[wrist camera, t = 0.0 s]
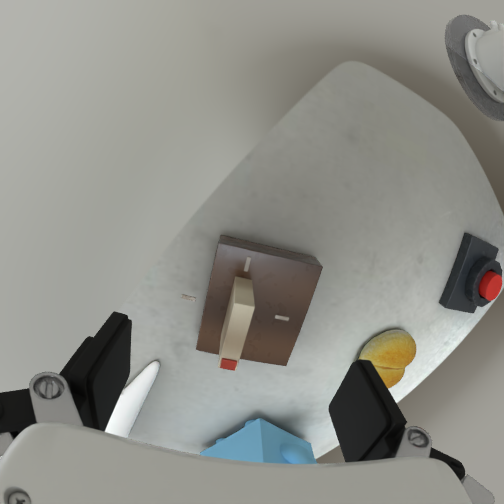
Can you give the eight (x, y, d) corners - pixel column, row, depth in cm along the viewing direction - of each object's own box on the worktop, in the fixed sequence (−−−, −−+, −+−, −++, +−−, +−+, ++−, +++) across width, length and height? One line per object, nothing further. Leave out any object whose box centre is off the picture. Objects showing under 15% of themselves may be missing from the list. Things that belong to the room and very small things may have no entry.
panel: (197, 229, 29) (192, 236, 25) (315, 257, 30) (323, 267, 27) (179, 330, 32) (173, 345, 29) (282, 350, 33) (286, 367, 30)
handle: (235, 276, 27) (234, 304, 21) (252, 279, 27) (255, 308, 21) (221, 333, 29) (217, 369, 23) (236, 337, 29) (235, 372, 23)
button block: (464, 232, 30) (481, 239, 26) (495, 247, 31) (511, 254, 27) (438, 302, 32) (452, 314, 29) (471, 309, 33) (485, 319, 30)
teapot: (240, 471, 41) (242, 533, 28) (191, 450, 39) (182, 518, 25) (339, 415, 37) (365, 486, 24) (292, 385, 35) (311, 470, 22)
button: (484, 268, 28) (493, 272, 26) (497, 273, 28) (505, 277, 27) (474, 293, 29) (482, 298, 27) (487, 297, 29) (495, 302, 28)
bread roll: (418, 331, 33) (433, 346, 30) (387, 381, 36) (398, 399, 32) (373, 320, 32) (387, 337, 29) (342, 376, 35) (351, 396, 31)
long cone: (196, 378, 36) (127, 437, 37) (158, 348, 35) (96, 414, 37) (189, 402, 30) (117, 459, 32) (146, 369, 29) (83, 434, 31)
